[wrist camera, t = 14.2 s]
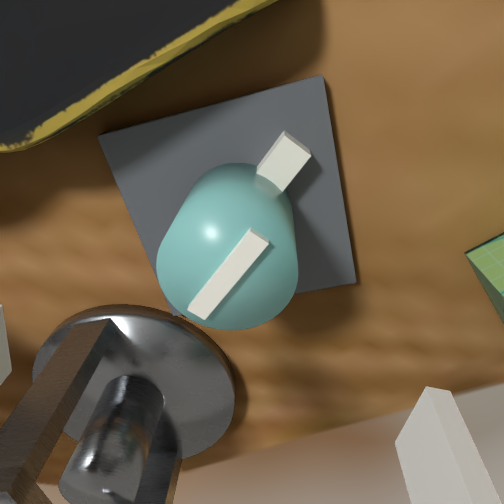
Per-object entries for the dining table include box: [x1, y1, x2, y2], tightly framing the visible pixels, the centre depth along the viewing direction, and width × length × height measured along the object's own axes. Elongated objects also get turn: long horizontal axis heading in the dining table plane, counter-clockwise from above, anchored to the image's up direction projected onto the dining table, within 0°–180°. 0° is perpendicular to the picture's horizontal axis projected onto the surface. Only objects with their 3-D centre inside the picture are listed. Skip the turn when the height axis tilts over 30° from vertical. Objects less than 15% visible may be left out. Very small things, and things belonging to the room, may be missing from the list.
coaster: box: [97, 74, 357, 316], centre depth 25 cm, size 13×13×1 cm
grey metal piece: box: [0, 304, 236, 504], centre depth 27 cm, size 16×16×14 cm
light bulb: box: [156, 131, 311, 330], centre depth 22 cm, size 11×7×7 cm, turn 144°
